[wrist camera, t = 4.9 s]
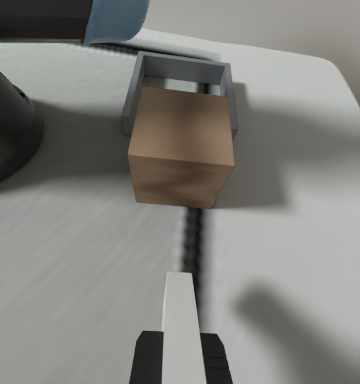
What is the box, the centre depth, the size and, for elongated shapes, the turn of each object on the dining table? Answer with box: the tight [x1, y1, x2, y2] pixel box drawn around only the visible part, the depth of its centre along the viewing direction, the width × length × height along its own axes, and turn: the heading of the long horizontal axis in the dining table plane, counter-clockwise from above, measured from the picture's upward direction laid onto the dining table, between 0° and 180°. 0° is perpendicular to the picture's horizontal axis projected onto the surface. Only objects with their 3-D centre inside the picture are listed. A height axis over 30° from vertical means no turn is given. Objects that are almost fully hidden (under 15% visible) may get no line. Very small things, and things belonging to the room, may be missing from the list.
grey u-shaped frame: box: [122, 51, 238, 141], centre depth 29 cm, size 14×14×3 cm
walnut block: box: [127, 86, 235, 209], centre depth 21 cm, size 8×8×8 cm
